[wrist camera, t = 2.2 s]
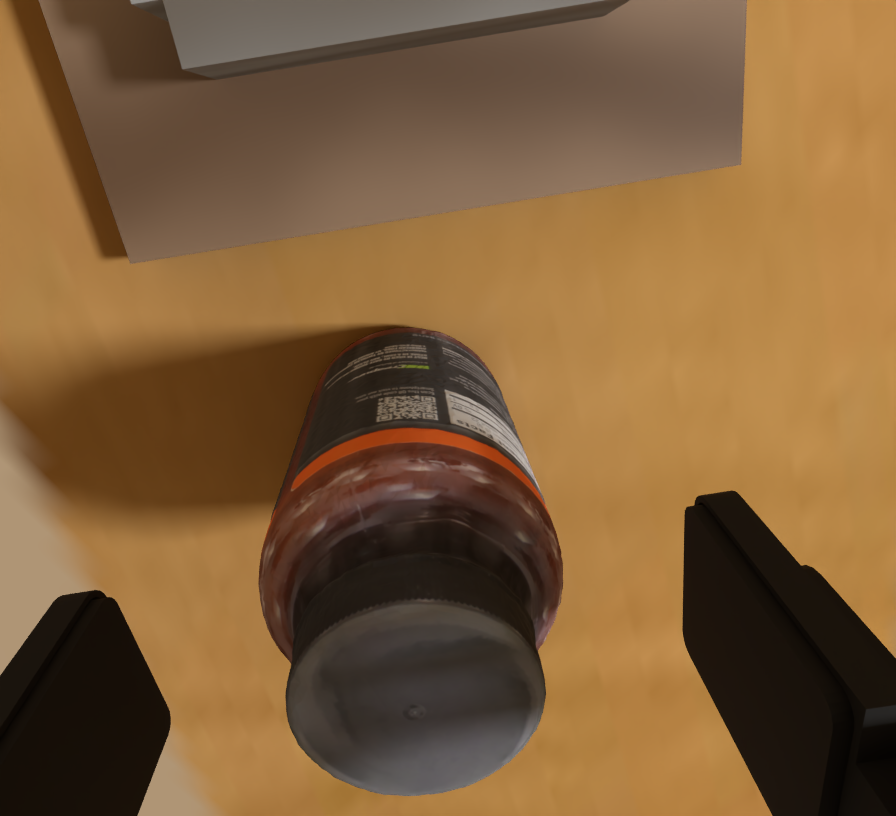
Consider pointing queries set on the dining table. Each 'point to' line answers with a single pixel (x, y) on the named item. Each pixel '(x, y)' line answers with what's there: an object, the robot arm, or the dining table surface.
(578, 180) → the bottle holder
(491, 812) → the dining table surface
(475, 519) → the supplement bottle
